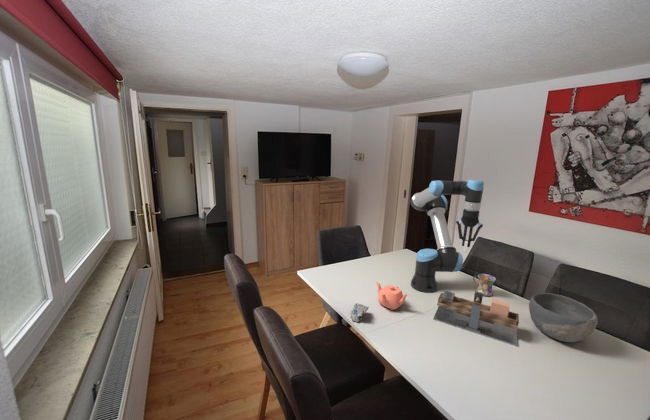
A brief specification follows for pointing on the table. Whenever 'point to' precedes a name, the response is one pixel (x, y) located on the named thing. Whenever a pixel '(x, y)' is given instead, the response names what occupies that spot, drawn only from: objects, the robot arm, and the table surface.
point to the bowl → (562, 317)
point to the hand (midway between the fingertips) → (464, 252)
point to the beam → (465, 308)
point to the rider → (499, 307)
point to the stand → (477, 323)
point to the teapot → (390, 296)
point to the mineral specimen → (358, 312)
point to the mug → (485, 284)
